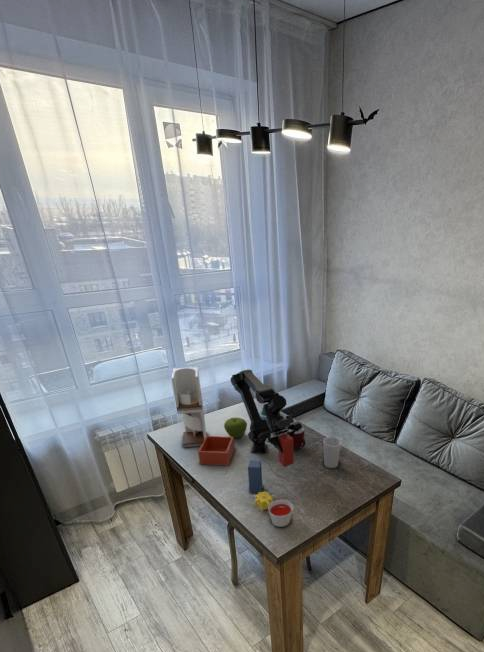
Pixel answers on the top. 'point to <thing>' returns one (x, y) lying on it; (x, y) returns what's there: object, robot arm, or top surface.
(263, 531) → the top surface
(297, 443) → the mug
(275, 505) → the candle
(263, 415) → the mug
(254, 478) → the blue block
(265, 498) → the toy block
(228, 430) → the apple
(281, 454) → the red block
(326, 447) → the cup
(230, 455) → the red bin
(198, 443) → the arched white lantern
